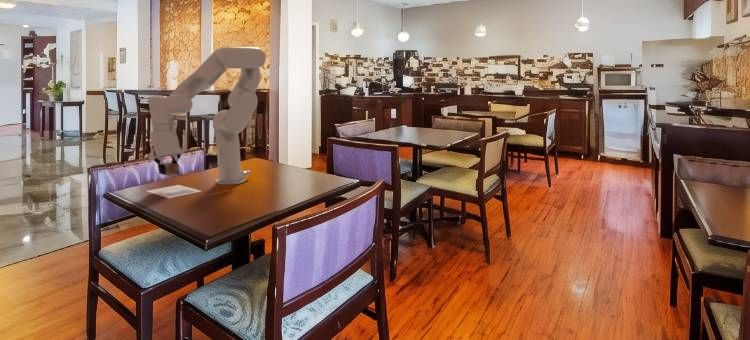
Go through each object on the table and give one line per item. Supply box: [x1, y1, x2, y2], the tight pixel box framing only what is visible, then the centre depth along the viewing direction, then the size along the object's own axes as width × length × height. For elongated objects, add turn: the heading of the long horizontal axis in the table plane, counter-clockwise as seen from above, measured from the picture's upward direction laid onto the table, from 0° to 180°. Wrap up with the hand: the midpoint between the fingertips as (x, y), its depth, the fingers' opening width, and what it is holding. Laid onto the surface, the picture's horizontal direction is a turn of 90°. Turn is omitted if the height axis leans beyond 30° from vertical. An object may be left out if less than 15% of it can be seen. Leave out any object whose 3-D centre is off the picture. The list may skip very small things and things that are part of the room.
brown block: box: [157, 161, 181, 177], centre depth 186 cm, size 4×8×4 cm, turn 51°
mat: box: [146, 184, 202, 199], centre depth 184 cm, size 14×18×1 cm
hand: (169, 171), depth 186 cm, fingers closed on brown block, 4 cm apart
